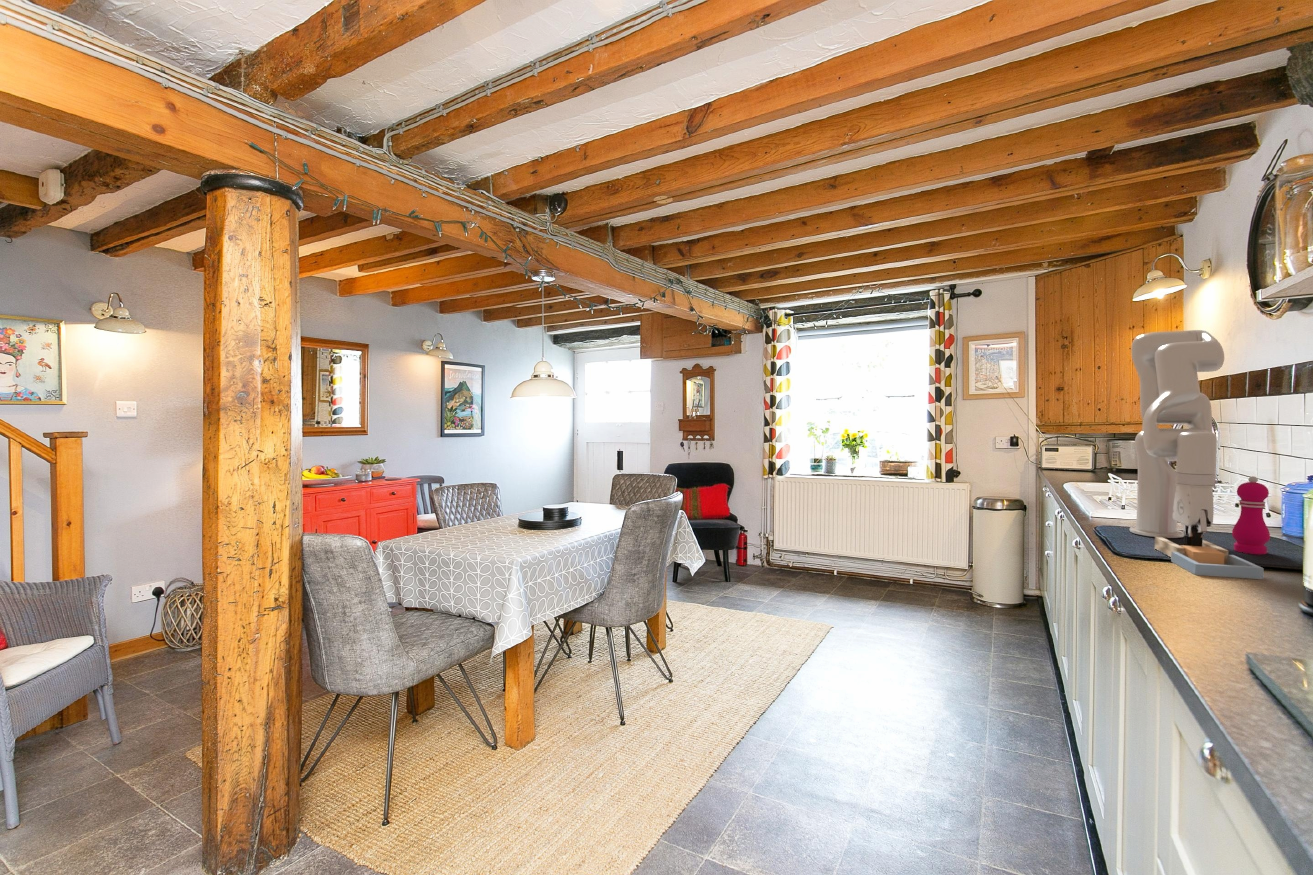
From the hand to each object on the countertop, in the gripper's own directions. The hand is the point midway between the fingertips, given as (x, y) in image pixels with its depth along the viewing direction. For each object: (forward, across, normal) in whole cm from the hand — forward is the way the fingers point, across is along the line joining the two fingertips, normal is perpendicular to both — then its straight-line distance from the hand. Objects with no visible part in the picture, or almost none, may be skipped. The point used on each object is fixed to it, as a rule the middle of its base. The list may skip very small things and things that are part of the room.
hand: (1192, 551), depth 155 cm
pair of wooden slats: (+2, -2, 0) cm, 2 cm away
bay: (+2, +10, 0) cm, 11 cm away
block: (+2, +5, 0) cm, 6 cm away
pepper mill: (+2, -12, +17) cm, 21 cm away
